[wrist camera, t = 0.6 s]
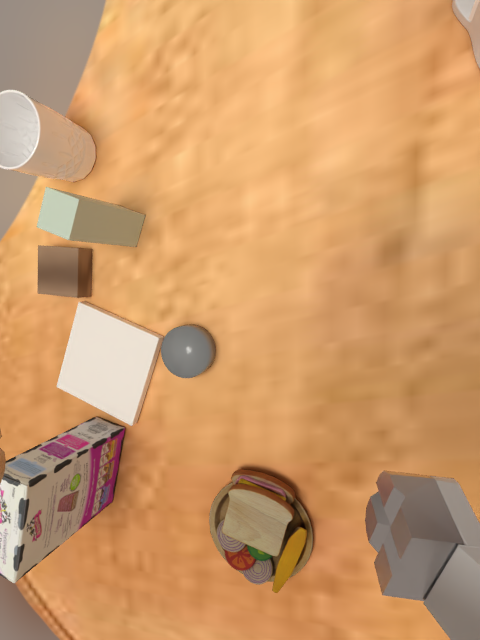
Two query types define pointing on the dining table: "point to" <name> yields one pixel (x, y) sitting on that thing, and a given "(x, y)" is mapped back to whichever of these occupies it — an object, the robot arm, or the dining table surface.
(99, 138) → the dining table surface
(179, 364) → the grey domed disc
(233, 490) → the toy sandwich meal
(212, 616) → the dining table surface
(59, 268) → the walnut block
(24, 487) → the candy bar box
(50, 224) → the sage block
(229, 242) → the dining table surface
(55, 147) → the white cup
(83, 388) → the plate
